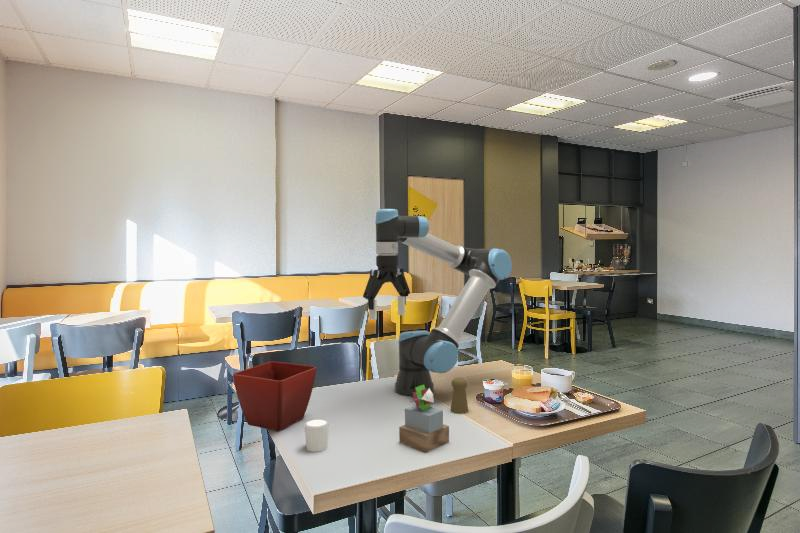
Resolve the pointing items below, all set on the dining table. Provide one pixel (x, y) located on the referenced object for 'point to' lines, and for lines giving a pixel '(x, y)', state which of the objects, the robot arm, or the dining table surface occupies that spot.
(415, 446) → the tower base block
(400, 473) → the dining table surface
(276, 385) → the plant pot
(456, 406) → the cork
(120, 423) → the dining table surface
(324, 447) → the white cup
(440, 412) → the tower top block
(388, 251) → the robot arm
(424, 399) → the geometric puzzle
